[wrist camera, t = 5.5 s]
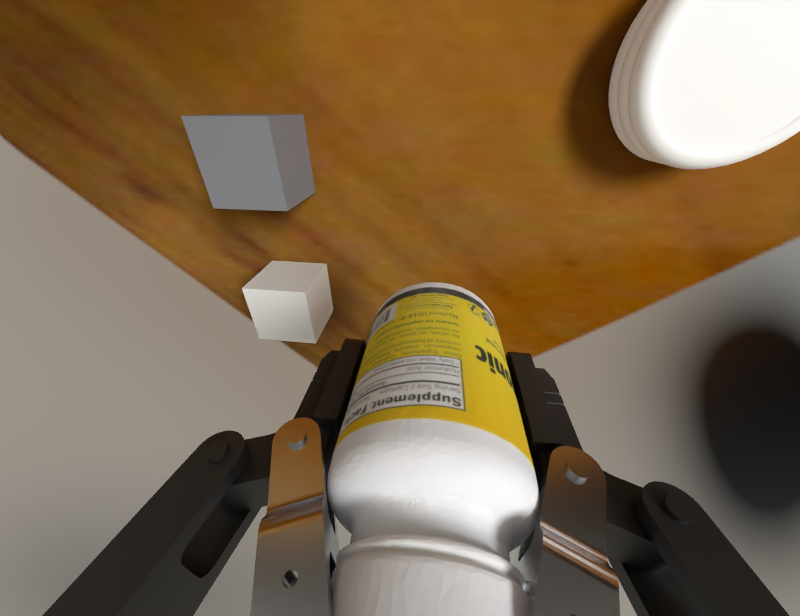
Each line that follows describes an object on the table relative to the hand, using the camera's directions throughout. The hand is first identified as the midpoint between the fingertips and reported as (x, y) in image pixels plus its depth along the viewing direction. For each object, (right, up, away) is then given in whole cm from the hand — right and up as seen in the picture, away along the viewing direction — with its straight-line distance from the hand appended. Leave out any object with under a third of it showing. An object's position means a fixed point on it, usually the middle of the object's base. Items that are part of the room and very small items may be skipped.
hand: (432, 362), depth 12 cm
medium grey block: (-10, +13, +10) cm, 19 cm away
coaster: (+16, +16, +5) cm, 23 cm away
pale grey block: (-10, +4, +16) cm, 19 cm away
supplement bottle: (0, +1, +2) cm, 2 cm away
